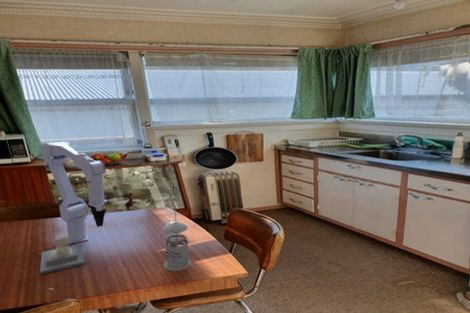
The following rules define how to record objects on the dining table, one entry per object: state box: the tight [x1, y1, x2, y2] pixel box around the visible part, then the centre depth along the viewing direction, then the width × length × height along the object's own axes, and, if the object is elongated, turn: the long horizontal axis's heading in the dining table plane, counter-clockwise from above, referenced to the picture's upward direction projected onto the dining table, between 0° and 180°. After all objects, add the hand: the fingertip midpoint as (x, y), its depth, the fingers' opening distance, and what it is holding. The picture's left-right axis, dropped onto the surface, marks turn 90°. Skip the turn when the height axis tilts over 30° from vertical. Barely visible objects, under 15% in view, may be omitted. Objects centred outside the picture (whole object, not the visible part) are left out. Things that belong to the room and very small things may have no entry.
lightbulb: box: [165, 220, 181, 244], centre depth 128 cm, size 6×6×11 cm
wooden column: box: [55, 233, 70, 255], centre depth 119 cm, size 4×4×6 cm
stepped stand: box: [39, 243, 86, 275], centre depth 120 cm, size 18×14×3 cm
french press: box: [160, 196, 192, 272], centre depth 113 cm, size 10×12×25 cm
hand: (98, 223), depth 130 cm, fingers open, 7 cm apart
